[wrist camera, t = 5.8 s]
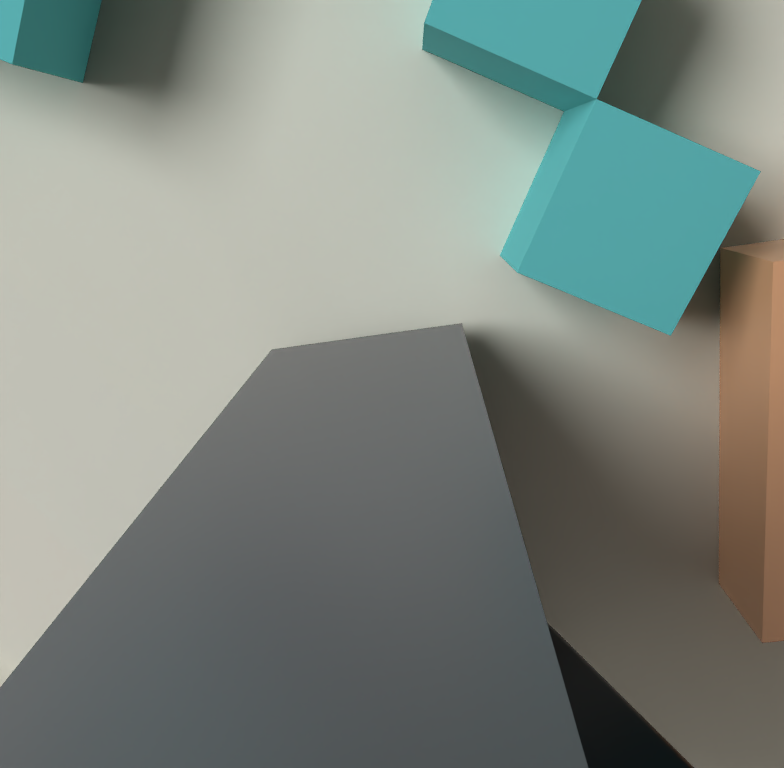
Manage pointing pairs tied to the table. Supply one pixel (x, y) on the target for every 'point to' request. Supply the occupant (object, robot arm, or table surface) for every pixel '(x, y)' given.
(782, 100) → the table surface
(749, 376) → the terracotta tile
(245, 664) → the grey matte slab
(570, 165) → the alien figure
